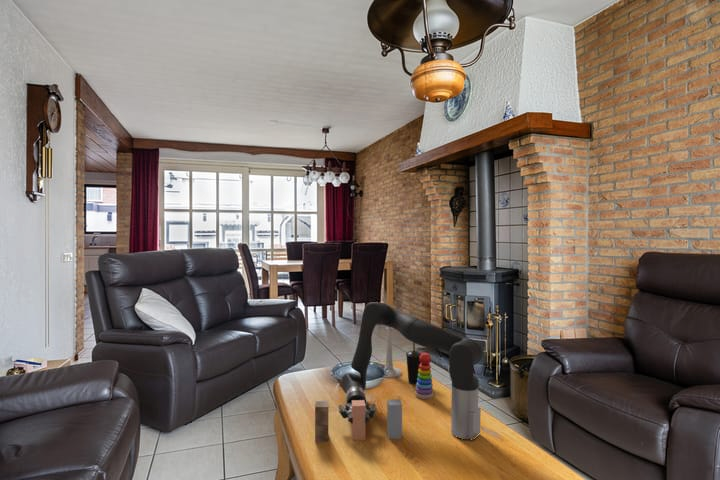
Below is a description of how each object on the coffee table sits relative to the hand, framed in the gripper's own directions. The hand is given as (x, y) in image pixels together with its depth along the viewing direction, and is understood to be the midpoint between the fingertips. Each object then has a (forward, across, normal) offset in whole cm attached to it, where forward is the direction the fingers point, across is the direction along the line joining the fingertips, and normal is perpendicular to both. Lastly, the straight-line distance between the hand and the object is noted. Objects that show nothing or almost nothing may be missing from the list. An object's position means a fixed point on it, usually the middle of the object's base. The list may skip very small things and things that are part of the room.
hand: (359, 420), depth 140 cm
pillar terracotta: (-3, 0, +7) cm, 8 cm away
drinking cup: (-50, +29, +7) cm, 59 cm away
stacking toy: (-35, +31, +7) cm, 47 cm away
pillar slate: (-3, +13, +7) cm, 15 cm away
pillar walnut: (-3, -13, +7) cm, 15 cm away
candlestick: (-63, +20, +7) cm, 66 cm away
